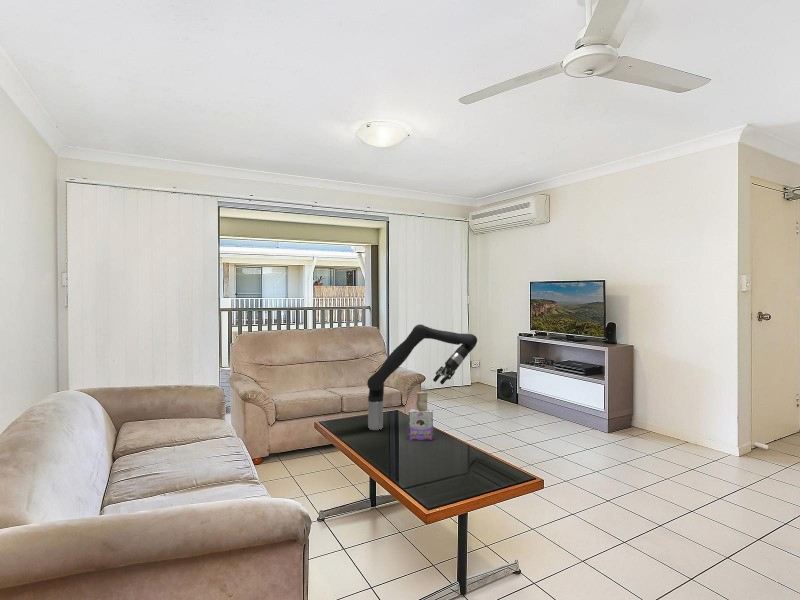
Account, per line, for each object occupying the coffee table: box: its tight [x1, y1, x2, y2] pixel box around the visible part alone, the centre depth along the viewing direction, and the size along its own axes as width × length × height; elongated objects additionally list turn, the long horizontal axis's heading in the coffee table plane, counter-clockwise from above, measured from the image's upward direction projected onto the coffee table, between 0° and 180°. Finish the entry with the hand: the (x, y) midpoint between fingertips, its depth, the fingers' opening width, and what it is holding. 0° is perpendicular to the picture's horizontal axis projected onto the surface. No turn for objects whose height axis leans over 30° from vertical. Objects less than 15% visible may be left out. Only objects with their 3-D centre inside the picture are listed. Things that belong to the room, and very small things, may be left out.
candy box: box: [408, 408, 434, 441], centre depth 258 cm, size 14×6×16 cm, turn 84°
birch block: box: [416, 391, 428, 411], centre depth 258 cm, size 5×5×10 cm
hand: (437, 382), depth 262 cm, fingers open, 8 cm apart
